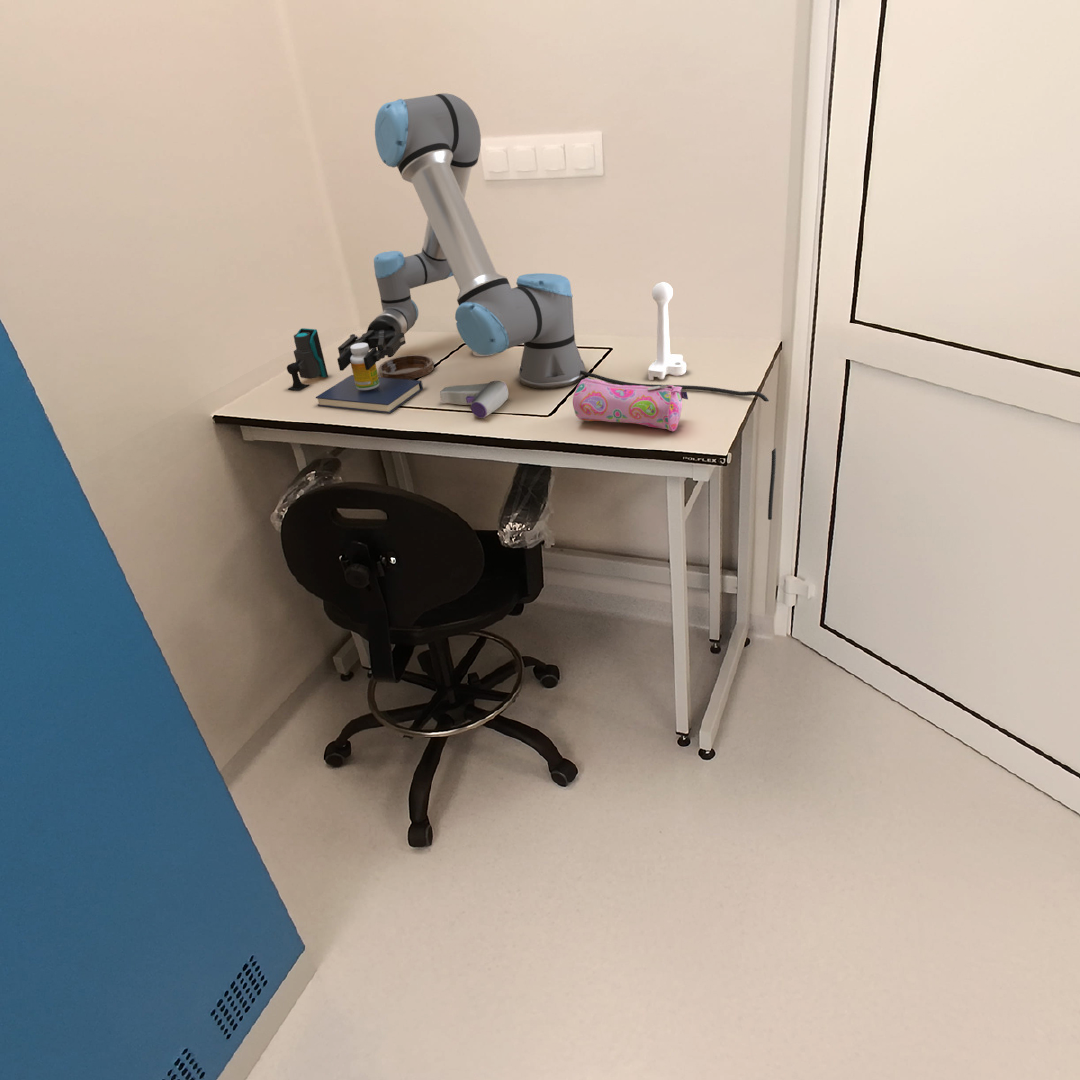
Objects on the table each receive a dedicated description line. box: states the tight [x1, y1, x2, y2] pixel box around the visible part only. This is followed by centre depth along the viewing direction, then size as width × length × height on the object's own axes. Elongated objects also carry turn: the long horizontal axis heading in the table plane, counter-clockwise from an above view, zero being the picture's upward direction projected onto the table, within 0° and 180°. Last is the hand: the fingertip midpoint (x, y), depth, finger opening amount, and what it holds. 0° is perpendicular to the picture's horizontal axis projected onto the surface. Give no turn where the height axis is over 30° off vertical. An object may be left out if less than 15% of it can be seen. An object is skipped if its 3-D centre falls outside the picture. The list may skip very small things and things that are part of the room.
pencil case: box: [572, 377, 689, 432], centre depth 158 cm, size 21×9×9 cm, turn 64°
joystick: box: [647, 281, 687, 381], centre depth 176 cm, size 11×8×20 cm
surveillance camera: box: [286, 327, 329, 392], centre depth 195 cm, size 6×12×10 cm
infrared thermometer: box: [439, 380, 509, 419], centre depth 174 cm, size 5×12×15 cm
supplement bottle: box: [350, 343, 379, 390], centre depth 182 cm, size 5×5×10 cm
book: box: [315, 374, 424, 414], centre depth 185 cm, size 20×14×2 cm
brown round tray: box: [377, 354, 435, 380], centre depth 198 cm, size 13×13×2 cm
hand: (353, 364), depth 176 cm, fingers closed on supplement bottle, 5 cm apart
